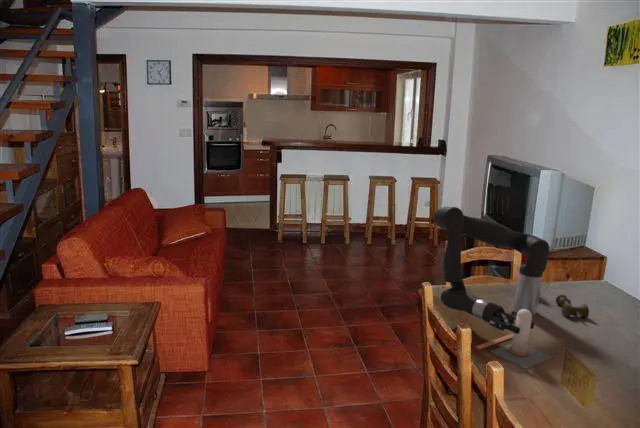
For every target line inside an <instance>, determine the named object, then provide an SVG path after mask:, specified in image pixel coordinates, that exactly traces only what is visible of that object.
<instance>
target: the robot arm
mask: <svg viewBox="0 0 640 428" xmlns="http://www.w3.org/2000/svg"><path fill="white" fill-rule="evenodd" d="M433 221H434V223H435V225H436V226H437V227H438V228H440V229H442V230H444V231H446V237H447V240H446V241H447V242H446V248H445V252H444V256H443V259H442V260H443V261H442V270H443V280H444V281H445V282H446V283H449V284H450V286H451V287H450V288H447V289H444V290H443V291H442V292H441V293H440V301H441V302H442V304H443V305H444V306H446V307H447V308H449V309H452V310H457V311H460V312H461V311H462V312H466V313H467V314H469V315H472V316H474V317H475V318H477V319H479V320H481V321H482V322H485V323H487V324H489V325H490V326H491V327H493V328H495V329H498V330H500V331H503V332H504V331H510V332H512V333H513V334H514V333H516V334H518V333H519V332H520V328H519V327H517V326H515V323H516V317H517V313H518V311H519V310H521V309H527V310H529V311H530V312H531V314H532V317H533V316H536V315H537V312H538V308H539V301H540V296H541V286H542V279H543V273H544V272H545V270H546V268H547V264H548V261H549V256H550V245H549V243H548V241H546V240H544V239H542V238H540V237H538V236H536V235H532V234H527V233H523V232H519V231H516V230H513V229H512V228H510V227H507V226H505V225H503V224H501V223H498V222H495V221H492V220H489V219H484V218H479V217H472V216H468V215H464V213H463V211H462V210H461V209H460V208H459V207H456V206H443V207H440V208H438V209H437V210H435V212H434V213H433ZM463 235H465V236H468V237H470V238H471V239H472V238H473V239H475V240H476V241H477V240H478V241H479V242H482V243H485V244H488V245H491V246H493V247H502V248H504V247H505V248H509V249H512V250H514V251H516V252H519V253H521V254H522V255H523V256H525V257H527V261H526V263H524V264H521V265H520V266H519V272H518V278H517V282H516V283H517V284H516V290H515V296H514V297H515V298H514V303H513V307H512V308H513V310H512V311H511V313H510V312H506V311H505V310H504V307H503V306H501V305H498V304H496V303H494V302H491V301H488V299H487V300H486V299H483V298H480V297H477V296H476V295H472V294H468V293H467V289H466V286H465V283H464V280H463V277H462V275H463V272H462V243H463ZM534 328H535V322H533V321H531V327H530V330H531V329H534Z"/></svg>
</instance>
